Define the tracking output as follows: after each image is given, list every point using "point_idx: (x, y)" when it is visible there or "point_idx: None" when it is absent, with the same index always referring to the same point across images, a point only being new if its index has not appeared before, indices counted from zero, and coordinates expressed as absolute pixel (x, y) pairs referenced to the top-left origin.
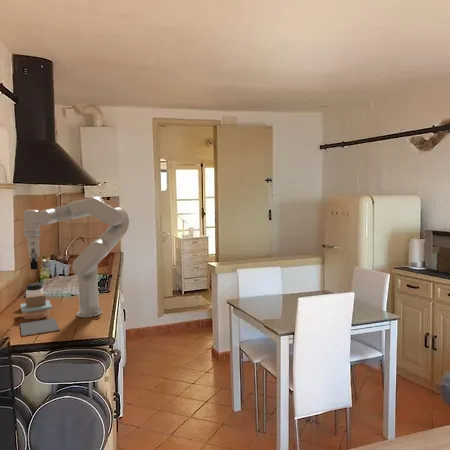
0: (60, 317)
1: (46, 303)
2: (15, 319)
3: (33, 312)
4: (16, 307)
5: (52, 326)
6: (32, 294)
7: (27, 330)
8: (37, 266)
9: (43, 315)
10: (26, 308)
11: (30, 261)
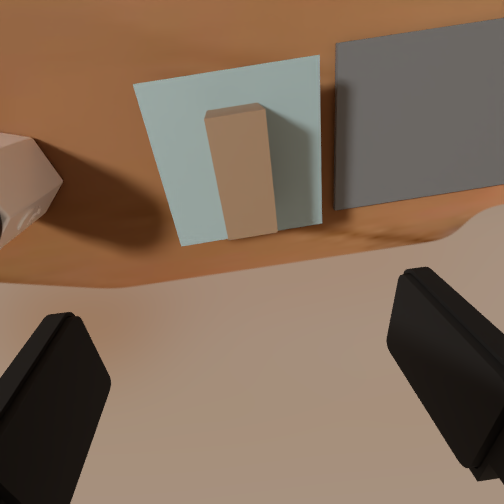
0: (318, 4)
1: (221, 99)
2: None
3: None
4: (56, 255)
5: (482, 52)
6: (24, 208)
7: (458, 168)
8: (454, 292)
9: None
10: (288, 206)
11: (75, 463)
